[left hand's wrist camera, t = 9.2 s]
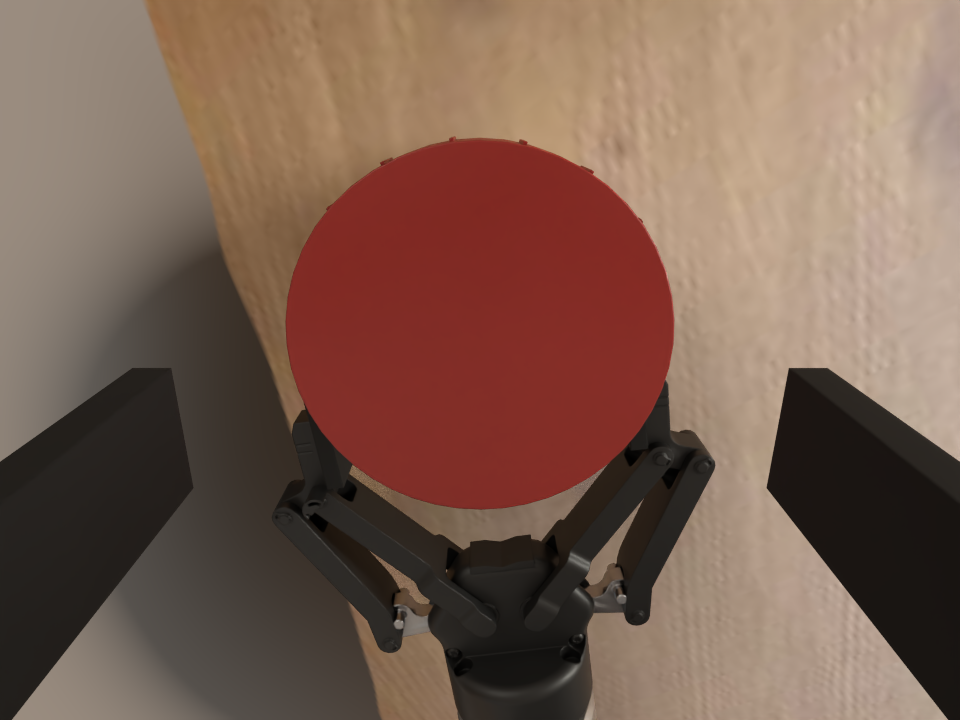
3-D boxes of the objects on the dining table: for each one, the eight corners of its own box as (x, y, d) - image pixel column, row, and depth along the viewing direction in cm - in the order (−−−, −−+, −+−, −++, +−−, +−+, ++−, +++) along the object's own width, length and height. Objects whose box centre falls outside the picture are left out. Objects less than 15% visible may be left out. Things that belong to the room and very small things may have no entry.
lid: (565, 512, 22) (574, 555, 20) (263, 405, 21) (238, 438, 19) (719, 226, 19) (751, 239, 17) (369, 72, 17) (353, 65, 15)
